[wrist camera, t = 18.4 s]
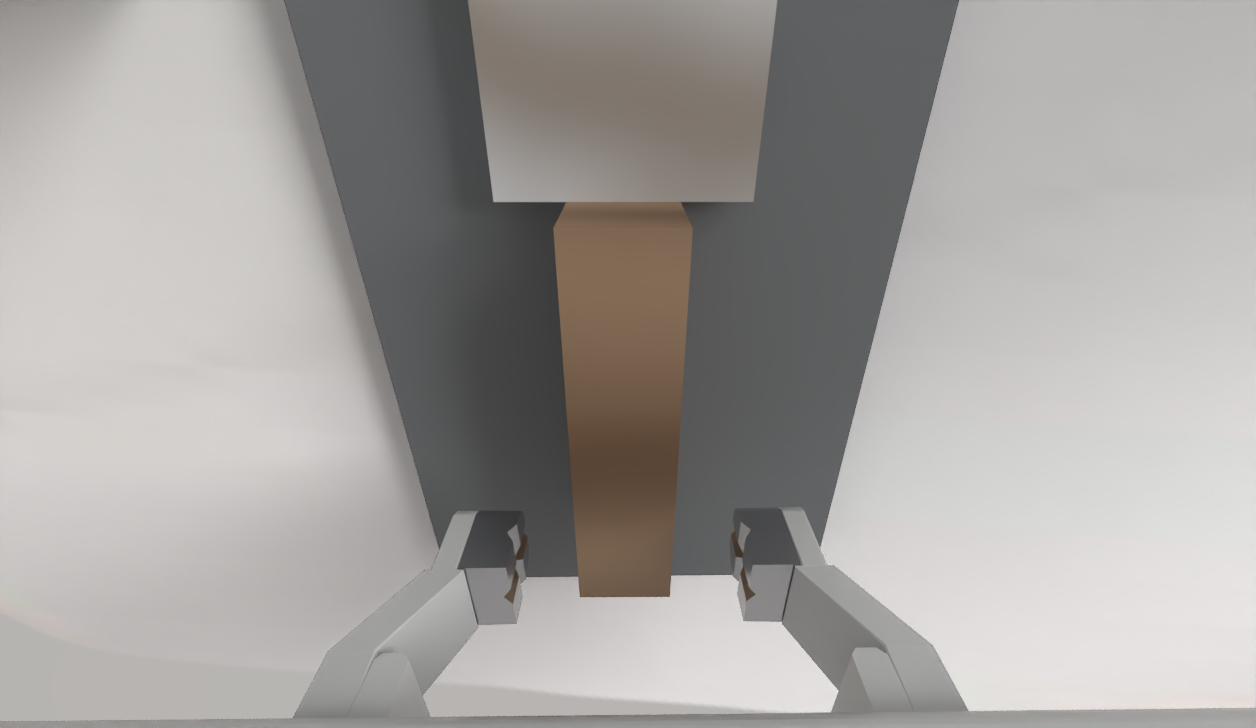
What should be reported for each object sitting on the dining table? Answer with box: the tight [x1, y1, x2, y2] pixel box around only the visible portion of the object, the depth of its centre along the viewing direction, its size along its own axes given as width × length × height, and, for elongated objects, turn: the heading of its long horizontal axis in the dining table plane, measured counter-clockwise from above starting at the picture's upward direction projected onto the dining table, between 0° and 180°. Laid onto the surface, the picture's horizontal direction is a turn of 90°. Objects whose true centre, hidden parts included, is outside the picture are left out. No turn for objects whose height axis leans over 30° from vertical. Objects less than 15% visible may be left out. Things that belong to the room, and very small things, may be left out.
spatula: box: [468, 0, 777, 597], centre depth 10 cm, size 14×5×3 cm, turn 0°
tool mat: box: [284, 0, 959, 577], centre depth 12 cm, size 20×12×1 cm, turn 1°
